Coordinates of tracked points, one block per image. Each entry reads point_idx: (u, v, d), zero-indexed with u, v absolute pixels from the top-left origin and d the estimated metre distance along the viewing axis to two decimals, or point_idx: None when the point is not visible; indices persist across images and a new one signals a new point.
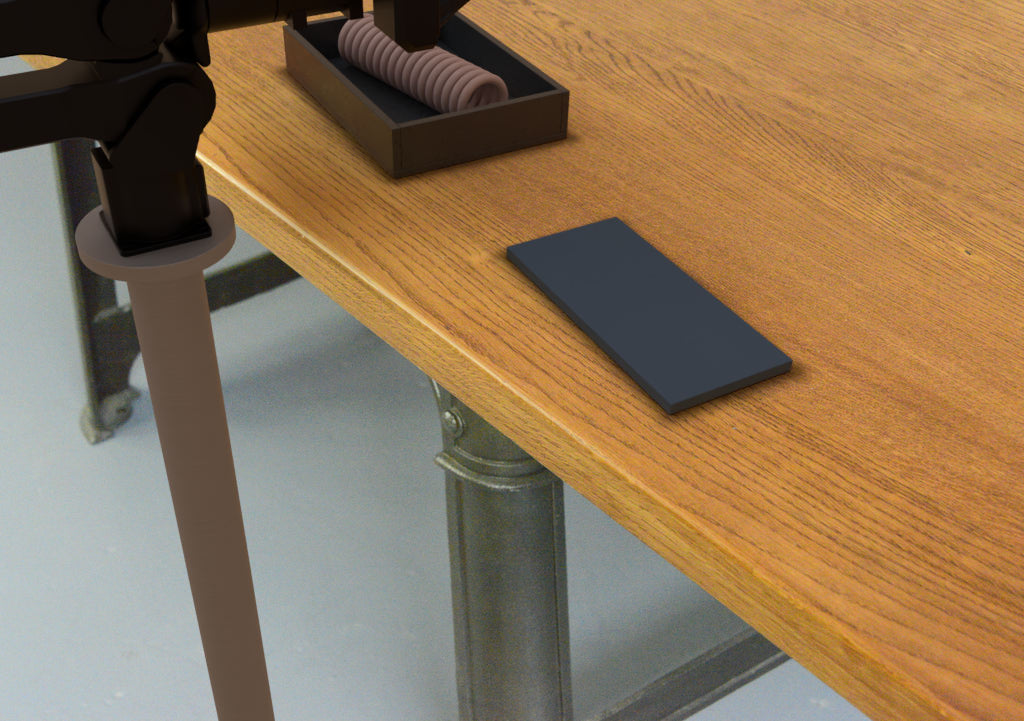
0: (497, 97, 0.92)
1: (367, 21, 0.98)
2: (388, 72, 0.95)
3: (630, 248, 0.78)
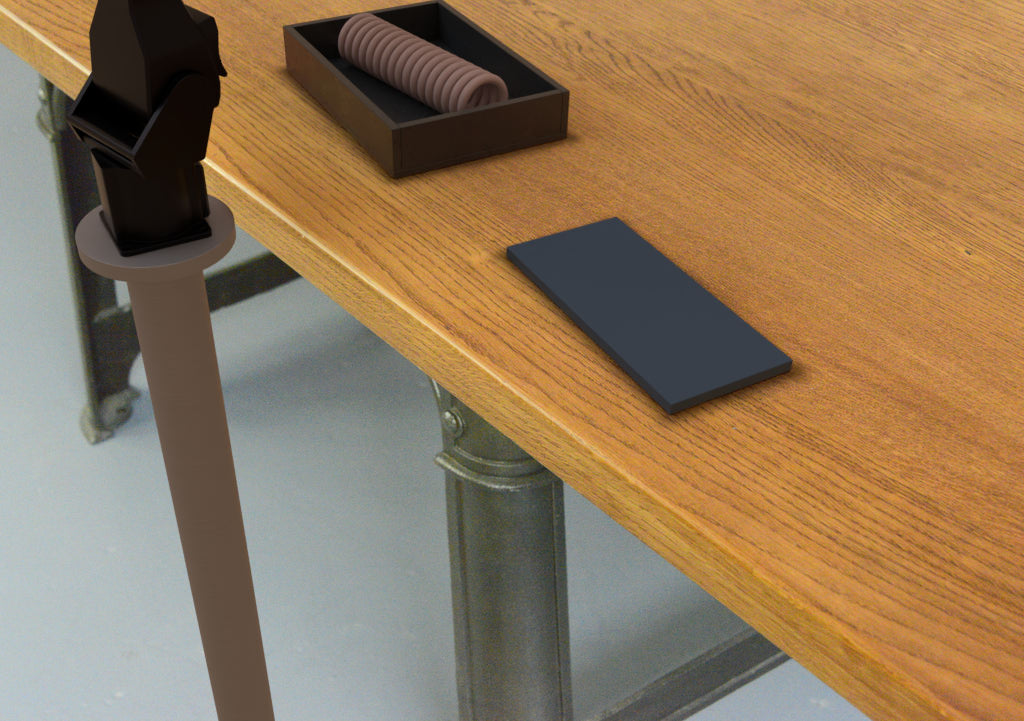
0: (497, 97, 0.92)
1: (367, 21, 0.98)
2: (388, 72, 0.95)
3: (630, 248, 0.78)
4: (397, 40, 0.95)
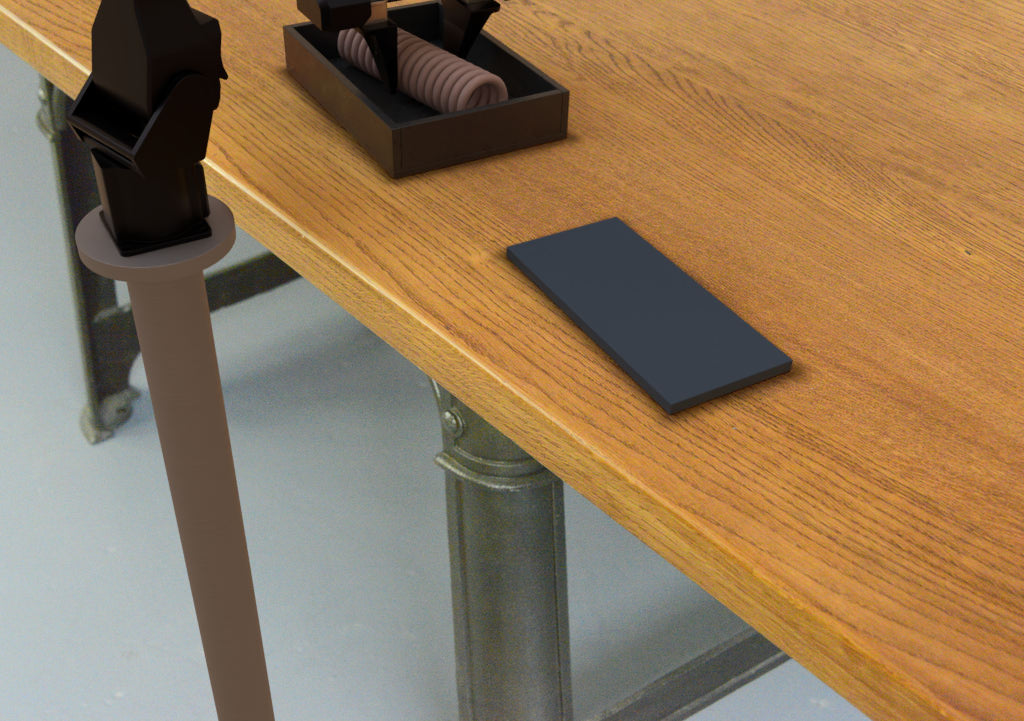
0: (497, 97, 0.92)
1: None
2: None
3: (630, 248, 0.78)
4: None
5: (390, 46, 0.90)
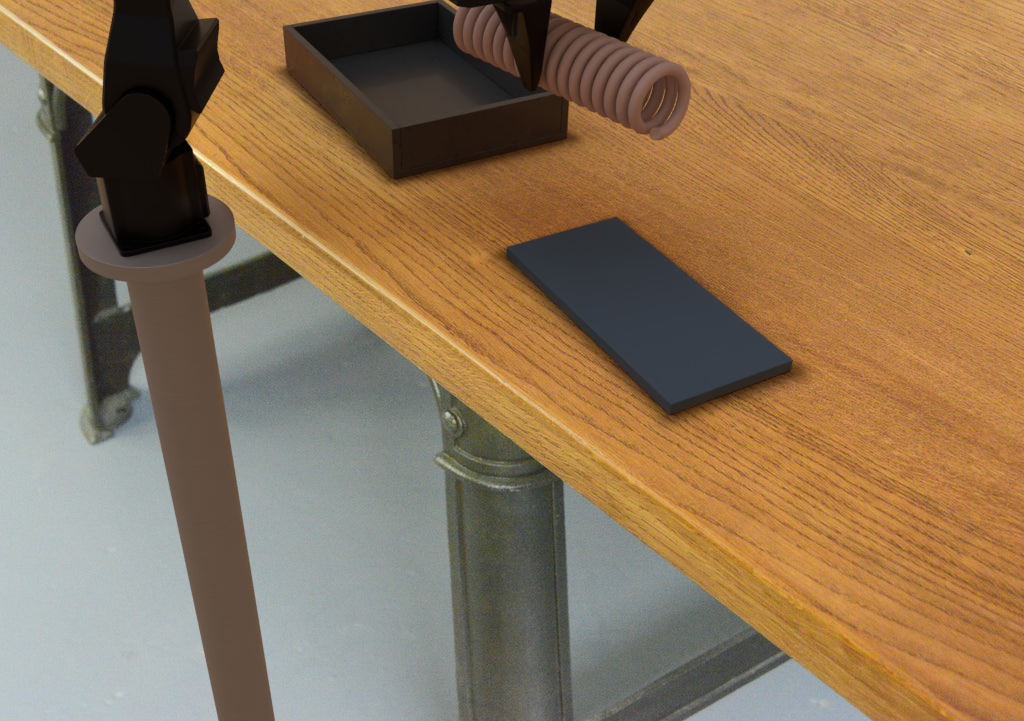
0: (675, 93, 0.71)
1: None
2: None
3: (630, 248, 0.78)
4: None
5: (539, 27, 0.69)
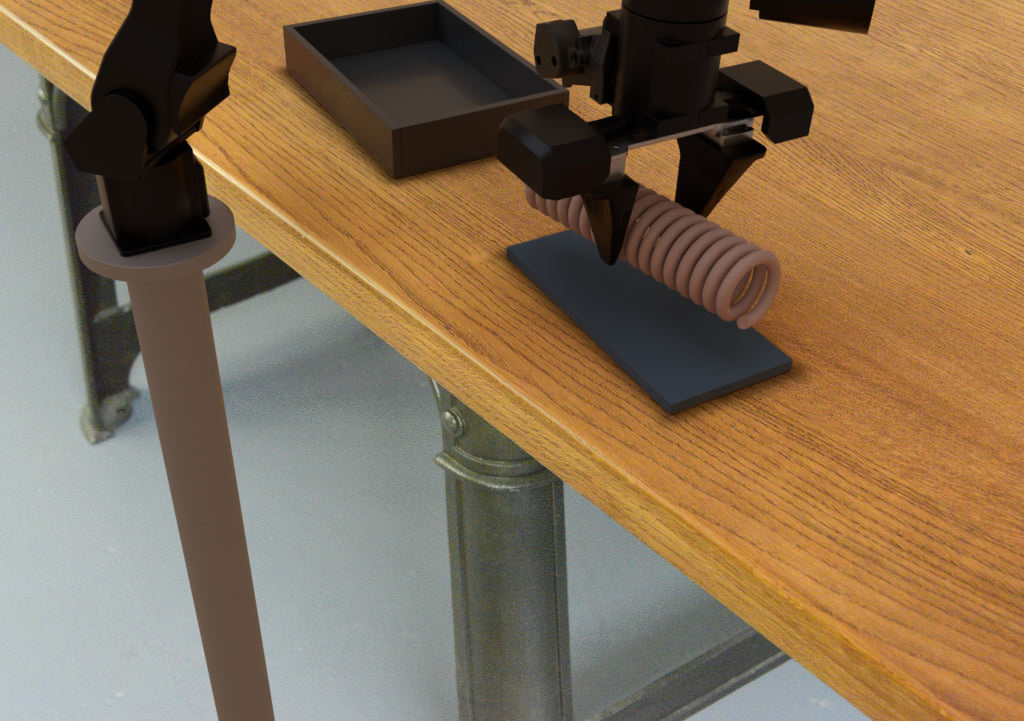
0: (763, 277, 0.67)
1: None
2: None
3: None
4: None
5: (624, 210, 0.65)
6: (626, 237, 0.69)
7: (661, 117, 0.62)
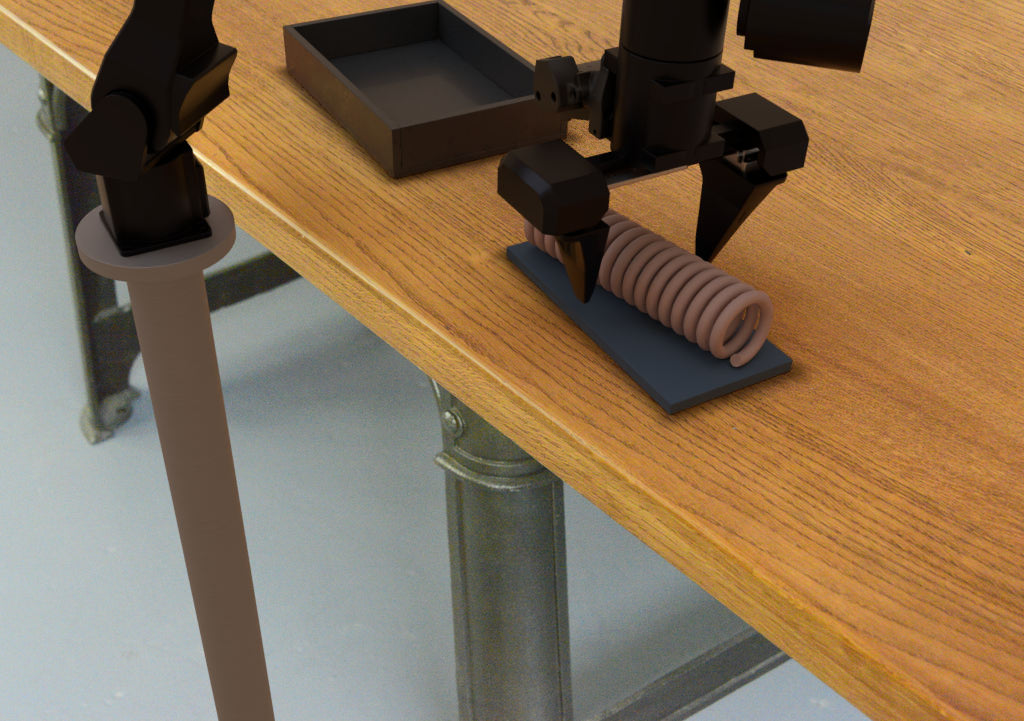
0: (756, 315, 0.69)
1: None
2: (601, 272, 0.72)
3: None
4: (614, 230, 0.71)
5: (596, 251, 0.66)
6: (622, 276, 0.71)
7: (658, 153, 0.64)
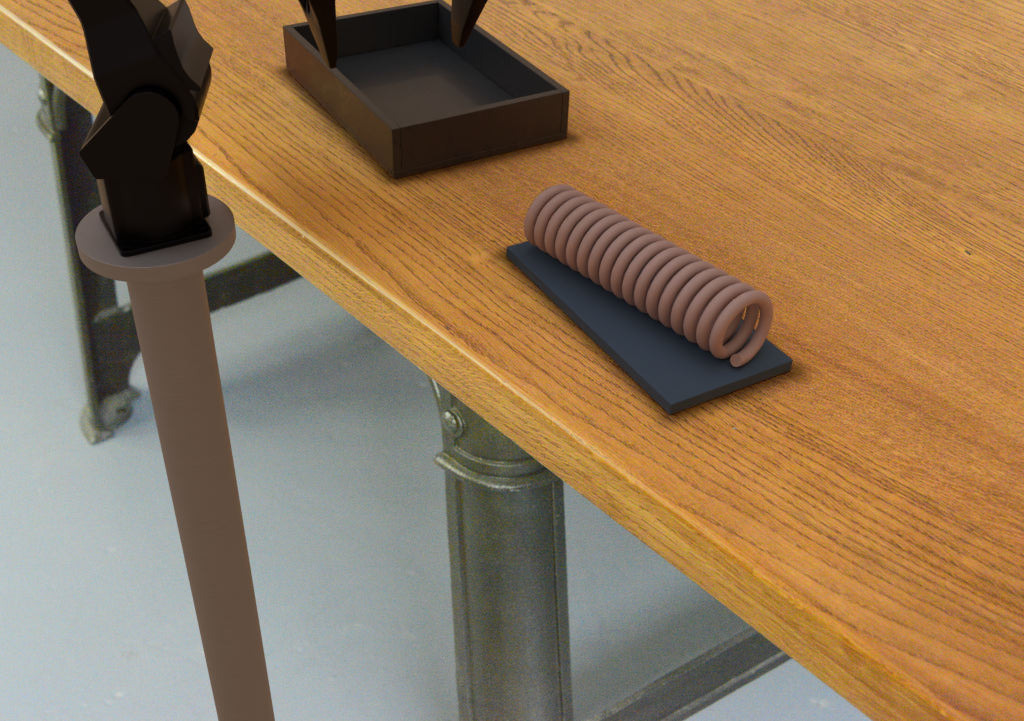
0: (756, 315, 0.69)
1: (566, 197, 0.74)
2: (601, 272, 0.72)
3: None
4: (614, 230, 0.71)
5: (325, 3, 0.69)
6: (622, 276, 0.71)
7: None
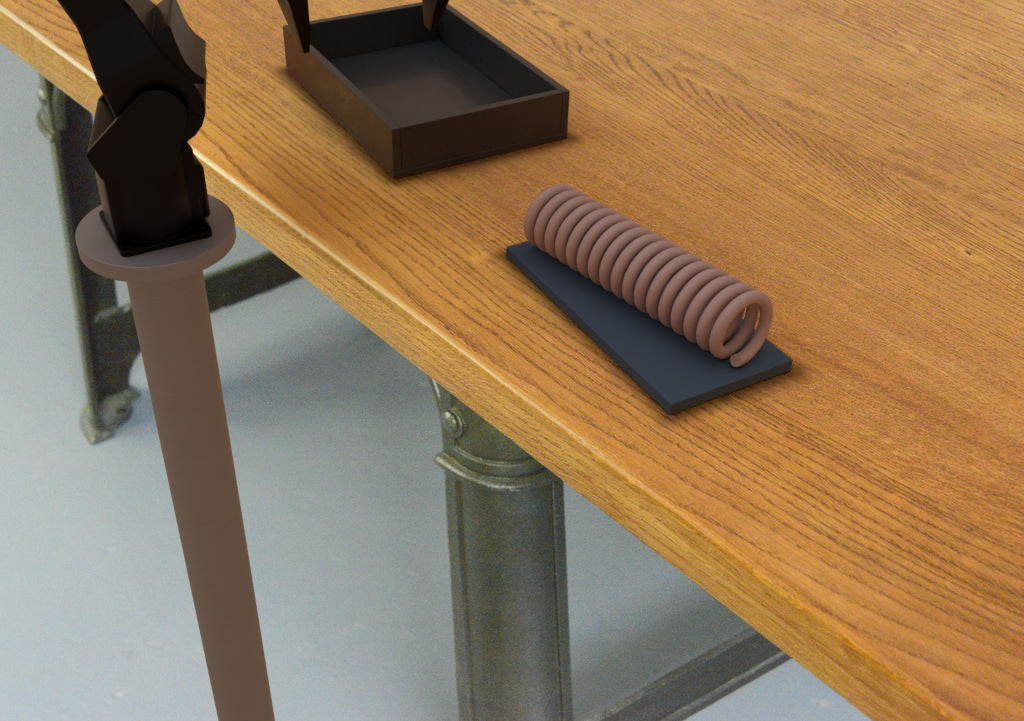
0: (756, 315, 0.69)
1: (566, 197, 0.74)
2: (601, 272, 0.72)
3: None
4: (614, 230, 0.71)
5: None
6: (622, 276, 0.71)
7: None
